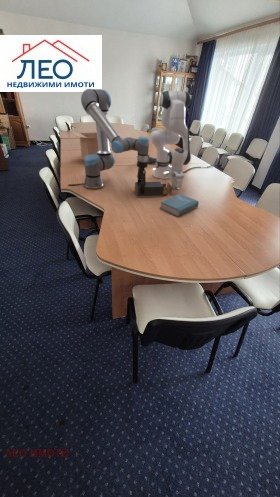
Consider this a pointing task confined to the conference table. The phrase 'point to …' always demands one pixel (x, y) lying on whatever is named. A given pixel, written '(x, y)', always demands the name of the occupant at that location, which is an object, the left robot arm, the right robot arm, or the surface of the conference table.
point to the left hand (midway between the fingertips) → (140, 190)
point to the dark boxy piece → (149, 189)
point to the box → (87, 142)
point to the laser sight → (151, 160)
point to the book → (179, 204)
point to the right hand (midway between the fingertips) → (173, 189)
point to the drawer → (168, 189)
